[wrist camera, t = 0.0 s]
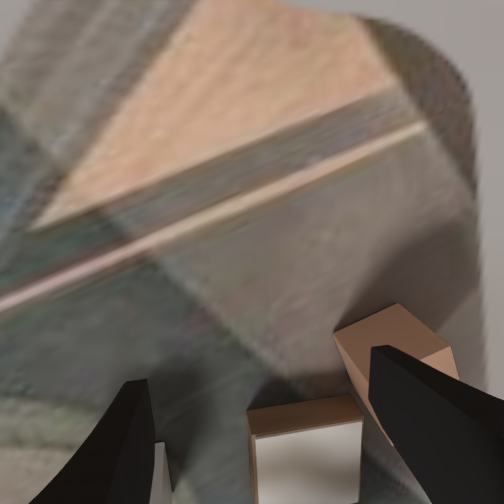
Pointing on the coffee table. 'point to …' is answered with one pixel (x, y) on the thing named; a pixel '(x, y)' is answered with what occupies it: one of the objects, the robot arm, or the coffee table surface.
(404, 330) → the terracotta block
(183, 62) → the coffee table surface
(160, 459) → the stone block
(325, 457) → the plinth
